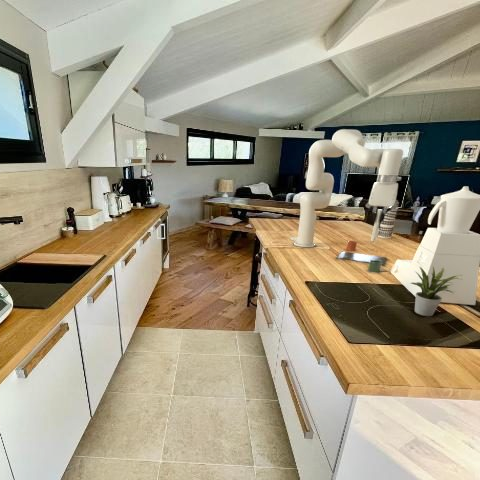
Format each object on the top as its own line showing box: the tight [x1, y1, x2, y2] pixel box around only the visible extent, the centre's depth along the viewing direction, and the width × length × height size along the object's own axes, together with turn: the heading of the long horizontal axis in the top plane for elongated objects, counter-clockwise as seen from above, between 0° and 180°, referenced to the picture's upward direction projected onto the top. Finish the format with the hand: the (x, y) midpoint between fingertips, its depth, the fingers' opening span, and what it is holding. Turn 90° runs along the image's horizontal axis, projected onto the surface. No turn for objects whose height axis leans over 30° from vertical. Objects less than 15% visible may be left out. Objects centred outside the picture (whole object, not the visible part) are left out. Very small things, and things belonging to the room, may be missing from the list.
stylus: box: [370, 208, 383, 243], centre depth 144 cm, size 2×2×15 cm
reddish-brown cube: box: [346, 240, 358, 252], centre depth 184 cm, size 5×5×5 cm
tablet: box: [336, 251, 387, 266], centre depth 166 cm, size 22×16×1 cm
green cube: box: [367, 260, 382, 273], centre depth 146 cm, size 5×5×5 cm
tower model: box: [377, 199, 400, 239], centre depth 213 cm, size 9×9×25 cm
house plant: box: [410, 267, 463, 317], centre depth 102 cm, size 14×14×16 cm
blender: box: [389, 185, 480, 306], centre depth 121 cm, size 33×18×40 cm, turn 166°
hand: (377, 221), depth 144 cm, fingers closed on stylus, 2 cm apart
